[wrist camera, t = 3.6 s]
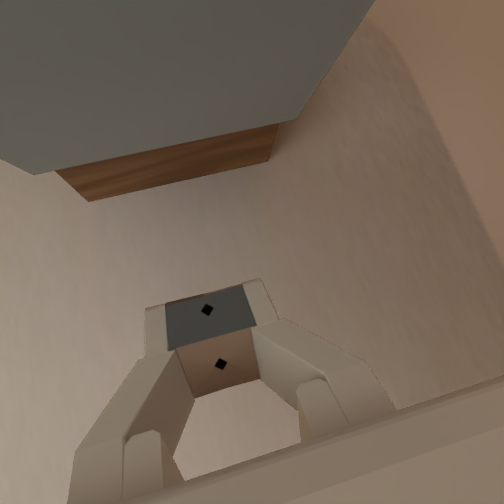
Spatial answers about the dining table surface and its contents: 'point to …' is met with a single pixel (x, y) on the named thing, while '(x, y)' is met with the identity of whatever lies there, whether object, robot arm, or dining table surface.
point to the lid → (156, 72)
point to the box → (170, 163)
